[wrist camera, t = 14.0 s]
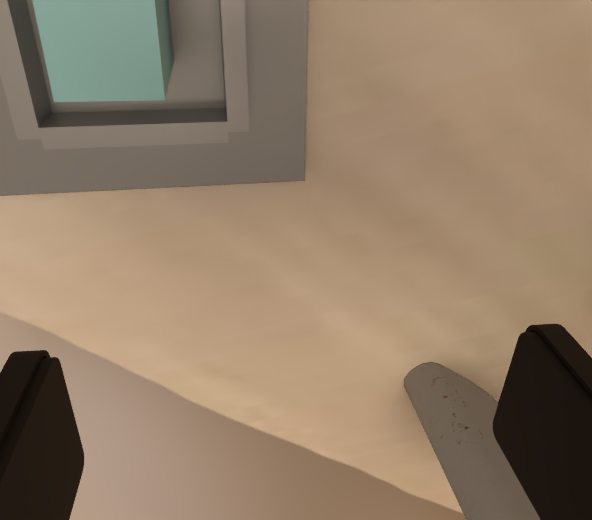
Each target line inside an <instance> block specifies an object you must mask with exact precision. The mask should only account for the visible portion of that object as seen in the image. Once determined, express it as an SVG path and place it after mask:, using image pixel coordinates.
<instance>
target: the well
mask: <svg viewBox="0 0 592 520" xmlns="http://www.w3.org/2000/svg"><path fill="white" fill-rule="evenodd" d="M169 11H170V22H171V33H172V44H173V54H174V65H173V69H172V73H171V77H170V82H169V86H168V90H167V94H166V98H165V100H152V101H89V102H54V100H53V95H52V90H51V86H50V81H49V76H48V71H47V67H46V62H45V57H44V53H43V48H42V43H41V39H40V34H39V29H38V24H37V20H36V15H35V10H34V6H33V1H32V0H0V196H8V195H28V194H48V193H68V192H88V191H108V190H128V189H148V188H168V187H188V186H208V185H228V184H248V183H268V182H288V181H305V136H306V88H307V40H308V0H169Z"/></svg>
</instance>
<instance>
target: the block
mask: <svg viewBox="0 0 592 520" xmlns="http://www.w3.org/2000/svg"><path fill="white" fill-rule="evenodd" d="M32 1H33V6H34V10H35V15H36V20H37V24H38V29H39V34H40V39H41V43H42V48H43V53H44V57H45V62H46V67H47V71H48V76H49V81H50V86H51V90H52V95H53V100H54V102H89V101H152V100H165V98H166V94H167V90H168V86H169V82H170V77H171V73H172V69H173V65H174V54H173V44H172V33H171V22H170V11H169V0H32Z"/></svg>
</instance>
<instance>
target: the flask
mask: <svg viewBox="0 0 592 520" xmlns="http://www.w3.org/2000/svg"><path fill="white" fill-rule="evenodd" d="M404 387H405V389H406V391H407V393H408V395H409V398H410V400H411V402H412V404H413V406H414V408H415V410H416V413H417V415H418V417H419V419H420V421H421V423H422V425H423V428H424V430H425V432H426V434H427V436H428V438H429V440H430V443H431V445H432V447H433V449H434V451H435V453H436V455H437V458H438V460H439V462H440V464H441V466H442V468H443V470H444V473H445V475H446V477H447V479H448V481H449V483H450V486H451V488H452V490H453V492H454V494H455V496H456V498H457V501H458V503H459V505H460V507H461V509H462V511H463V513H464V516H465V518H466V520H540V518H539V516H538V514H537V512H536V511H535V509H534V507H533V505H532V503H531V502H530V500H529V498H528V496H527V495H526V493H525V491H524V489H523V487H522V486H521V484H520V482H519V480H518V478H517V477H516V475H515V473H514V471H513V469H512V468H511V466H510V464H509V462H508V460H507V459H506V457H505V455H504V453H503V452H502V450H501V448H500V446H499V444H498V443H497V441H496V439H495V437H494V433H493V419H494V416H495V413H496V409H497V406H498V403H497V402H496V401H495V400H494V399H493V398H492V397H491V396H490V395H489V394H488V393H487V392H485V391H484V390H482V389H481V388H480V387H478V386H477V385H475V384H474V383H472V382H471V381H470V380H468V379H466V378H464V377H462V376H460V375H458V374H457V373H455V372H453V371H451V370H449V369H447V368H445V367H444V366H442V365H440V364H437V363H433V362H430V363H424V364H421V365H419V366H417V367H416V368H414V369H413V370H411V371H410V372H409V373H408V375H407V376H406V377H405V378H404Z"/></svg>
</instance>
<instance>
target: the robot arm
mask: <svg viewBox="0 0 592 520" xmlns="http://www.w3.org/2000/svg"><path fill="white" fill-rule="evenodd" d="M493 433H494V437H495V439H496V441H497V443H498V444H499V446H500V448H501V450H502V452H503V453H504V455H505V457H506V459H507V460H508V462H509V464H510V466H511V468H512V469H513V471H514V473H515V475H516V477H517V478H518V480H519V482H520V484H521V486H522V487H523V489H524V491H525V493H526V495H527V496H528V498H529V500H530V502H531V503H532V505H533V507H534V509H535V511H536V512H537V514H538V516H539V518H540V520H592V358H591V357H590V356H589V355H588V354H587V352H586V351H585V350H584V349H583V348H582V347H581V346H580V345H579V344H578V343H577V341H576V340H575V339H574V338H573V337H572V336H571V335H570V334H569V333H568V332H567V330H566V329H565V328H564V327H562V326H561V325H559V324H543V325H531V326H529V327H528V328H527V330H526V332H524V333H521V334H520V336H519V338H518V341H517V344H516V348H515V351H514V354H513V357H512V361H511V364H510V367H509V370H508V374H507V377H506V380H505V383H504V387H503V390H502V393H501V396H500V400H499V403H498V406H497V409H496V413H495V416H494V419H493ZM83 466H84V452H83V448H82V444H81V440H80V436H79V432H78V429H77V425H76V421H75V417H74V413H73V409H72V406H71V402H70V398H69V394H68V390H67V387H66V383H65V379H64V375H63V371H62V367H61V364H60V361H59V359H58V358H56V357H53V358H50V355H49V353H48V352H47V351H45V350H40V351H23V352H22V351H21V352H13V353H12V354H11V355H10V356H9V358H8V360H7V362H6V363H5V365H4V367H3V369H2V371H1V373H0V520H69V518H70V515H71V511H72V508H73V504H74V500H75V497H76V493H77V489H78V486H79V483H80V479H81V475H82V471H83Z"/></svg>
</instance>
